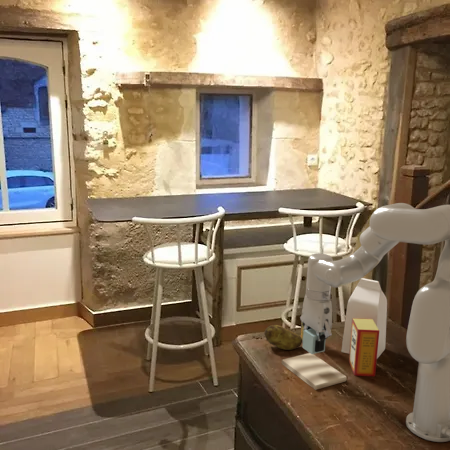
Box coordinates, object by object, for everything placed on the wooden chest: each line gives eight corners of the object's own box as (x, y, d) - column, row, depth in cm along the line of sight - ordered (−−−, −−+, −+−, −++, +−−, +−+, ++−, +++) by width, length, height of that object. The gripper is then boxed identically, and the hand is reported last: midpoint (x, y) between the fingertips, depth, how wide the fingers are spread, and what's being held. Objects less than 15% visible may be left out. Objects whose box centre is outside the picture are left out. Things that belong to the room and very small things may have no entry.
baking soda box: (348, 361, 174) (352, 316, 170) (368, 362, 173) (372, 317, 170) (354, 375, 164) (358, 328, 161) (375, 376, 164) (379, 329, 161)
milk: (341, 351, 181) (346, 281, 175) (352, 340, 190) (358, 272, 184) (375, 361, 174) (381, 288, 168) (385, 348, 184) (392, 279, 178)
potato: (298, 355, 177) (299, 334, 175) (261, 349, 181) (262, 328, 179) (302, 345, 184) (303, 324, 183) (267, 339, 188) (268, 319, 187)
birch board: (346, 381, 161) (346, 376, 160) (315, 389, 155) (315, 385, 155) (310, 356, 176) (311, 352, 176) (281, 363, 171) (281, 359, 170)
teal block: (324, 351, 163) (326, 333, 162) (311, 354, 161) (313, 336, 160) (314, 344, 168) (316, 327, 166) (302, 347, 165) (303, 330, 164)
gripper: (345, 301, 154) (340, 356, 159) (310, 283, 169) (306, 334, 173) (325, 304, 151) (320, 361, 155) (292, 286, 165) (288, 338, 170)
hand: (313, 346), depth 164 cm, fingers closed on teal block, 4 cm apart
